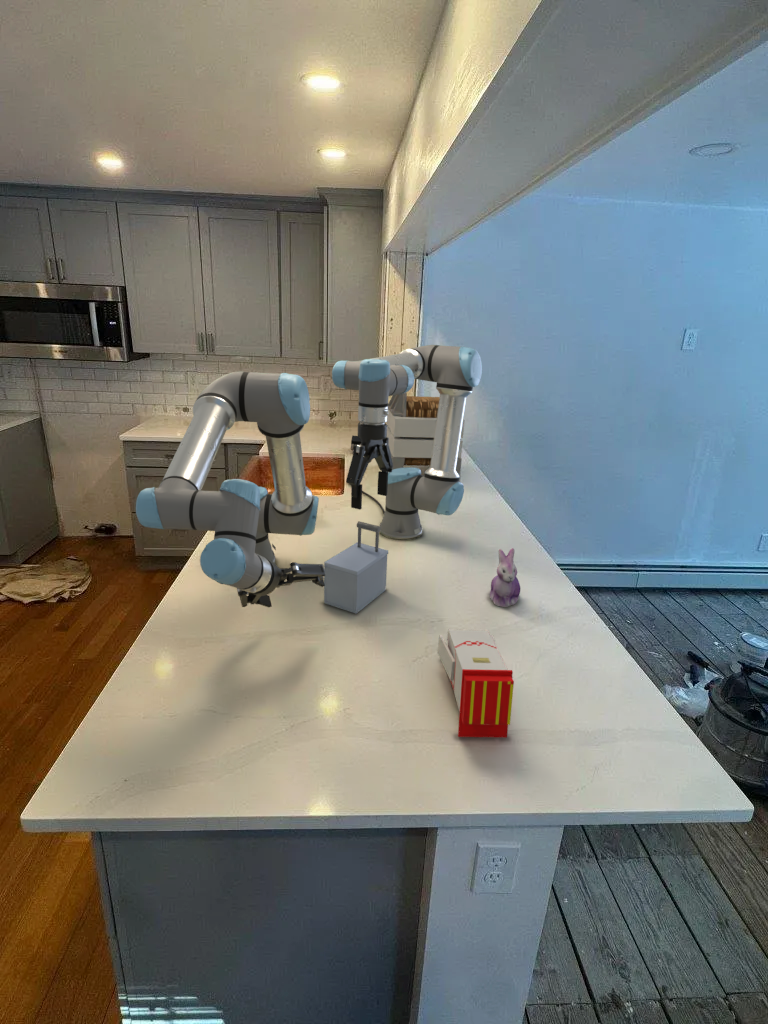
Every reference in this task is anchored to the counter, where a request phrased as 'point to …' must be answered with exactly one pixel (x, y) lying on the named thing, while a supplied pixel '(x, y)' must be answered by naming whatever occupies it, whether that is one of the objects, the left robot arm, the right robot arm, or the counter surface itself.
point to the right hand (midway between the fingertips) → (369, 501)
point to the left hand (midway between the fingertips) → (295, 591)
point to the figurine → (505, 581)
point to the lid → (358, 553)
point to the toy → (478, 682)
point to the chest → (354, 586)
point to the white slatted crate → (414, 430)
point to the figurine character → (355, 441)
